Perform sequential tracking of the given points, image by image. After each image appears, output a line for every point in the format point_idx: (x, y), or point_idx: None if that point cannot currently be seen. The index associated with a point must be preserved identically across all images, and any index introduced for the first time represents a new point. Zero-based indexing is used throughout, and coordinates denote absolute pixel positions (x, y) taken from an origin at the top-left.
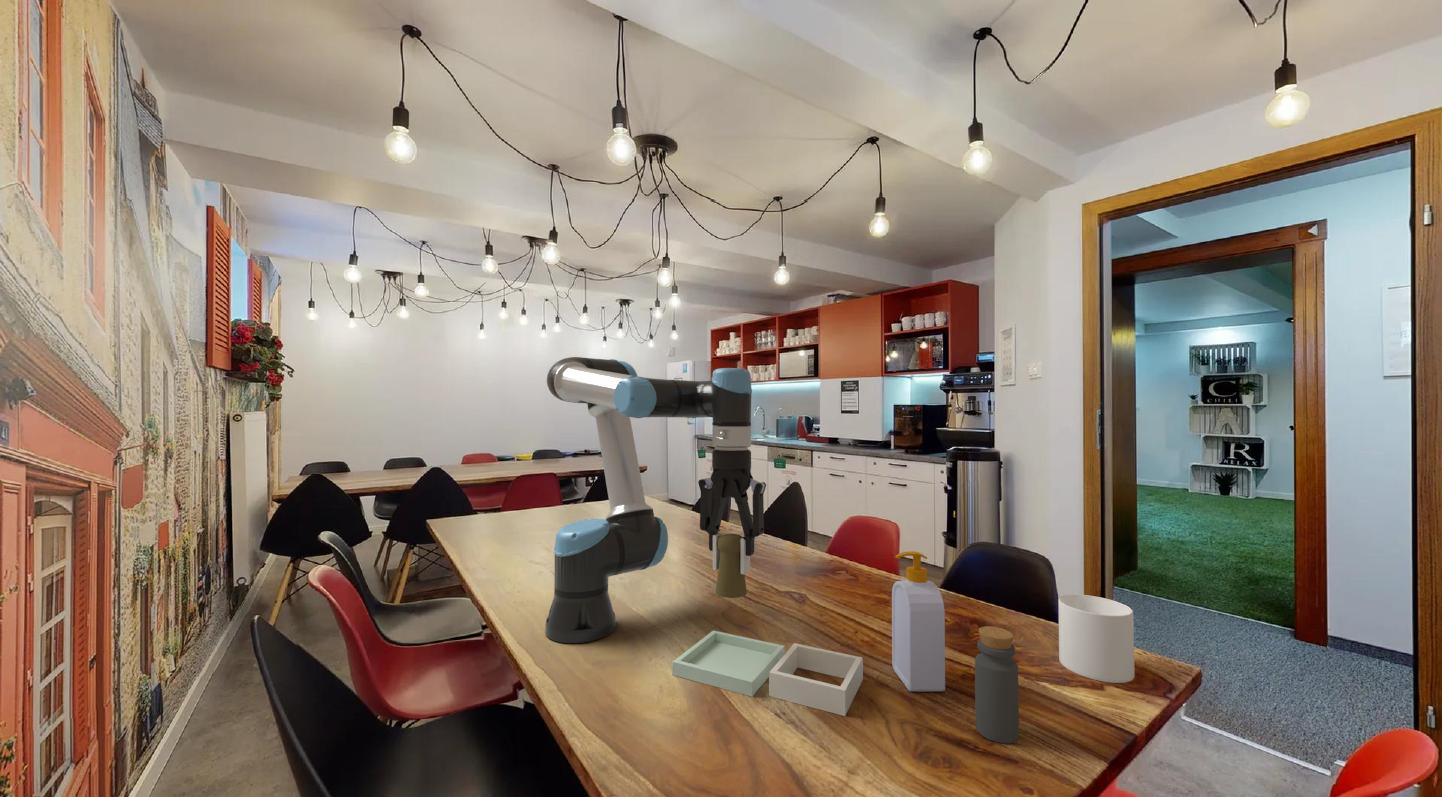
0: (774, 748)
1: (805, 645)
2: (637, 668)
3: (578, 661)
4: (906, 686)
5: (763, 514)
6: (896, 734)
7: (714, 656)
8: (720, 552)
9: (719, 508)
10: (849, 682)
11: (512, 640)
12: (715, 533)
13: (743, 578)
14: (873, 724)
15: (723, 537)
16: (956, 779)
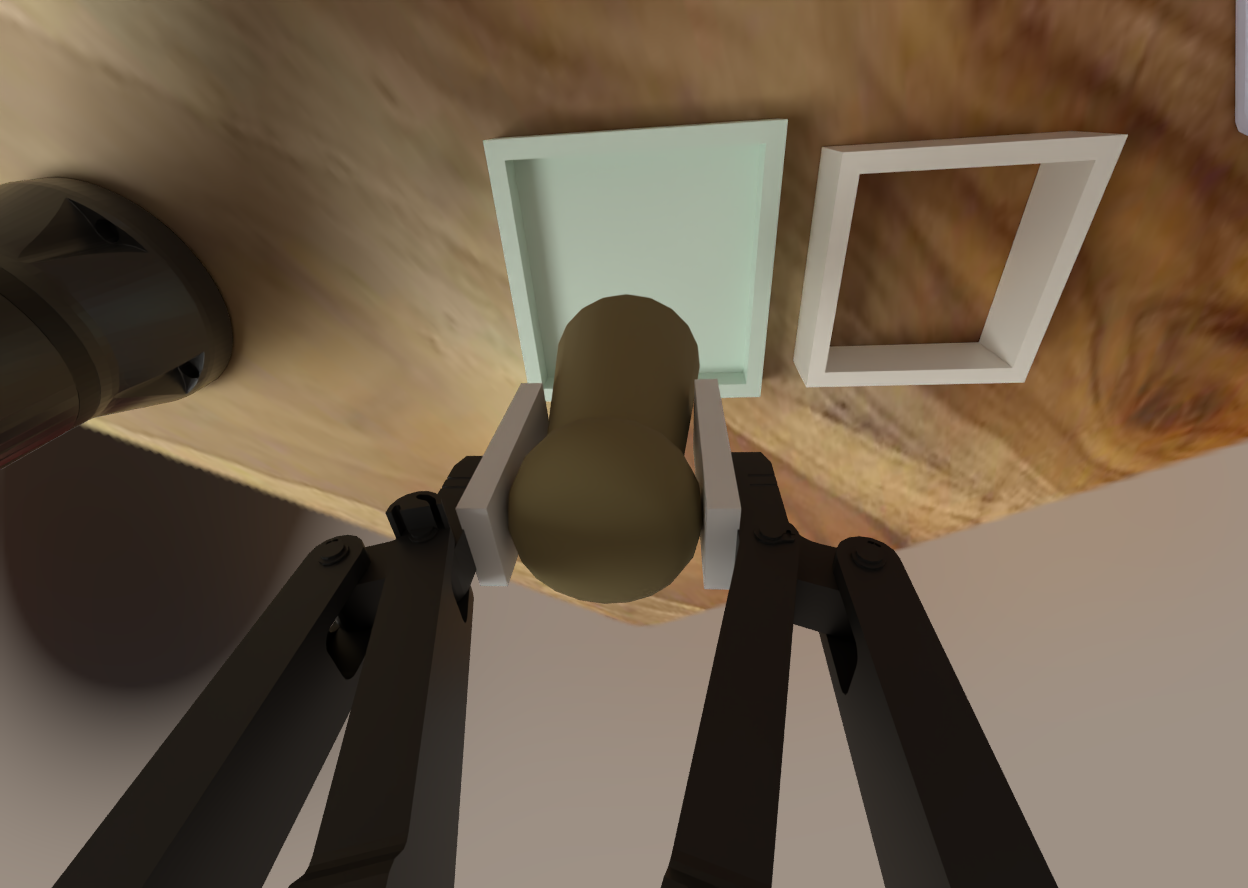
0: (847, 500)
1: (889, 150)
2: (449, 398)
3: (321, 433)
4: (1237, 106)
5: (972, 721)
6: (1108, 367)
7: (575, 261)
8: (527, 453)
9: (458, 814)
10: (1042, 336)
11: (110, 428)
12: (469, 562)
13: (693, 400)
14: (1058, 355)
15: (576, 597)
16: (1193, 446)
